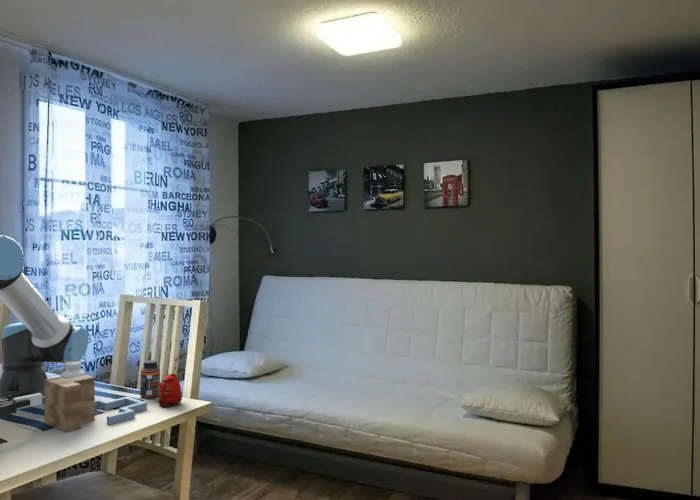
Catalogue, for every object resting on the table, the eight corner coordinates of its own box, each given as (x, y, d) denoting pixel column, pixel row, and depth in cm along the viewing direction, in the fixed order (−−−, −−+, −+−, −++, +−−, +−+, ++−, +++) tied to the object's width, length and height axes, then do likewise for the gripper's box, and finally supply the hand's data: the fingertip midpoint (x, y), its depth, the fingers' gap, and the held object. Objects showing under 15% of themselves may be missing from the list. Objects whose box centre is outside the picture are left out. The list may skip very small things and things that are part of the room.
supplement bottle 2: (153, 399, 180) (153, 363, 179) (136, 398, 181) (136, 362, 180) (163, 394, 185) (163, 359, 185) (146, 393, 187) (146, 358, 186)
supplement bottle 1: (88, 404, 173) (88, 362, 173) (65, 409, 169) (65, 366, 168) (79, 400, 178) (79, 359, 178) (57, 404, 173) (57, 362, 173)
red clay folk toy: (155, 402, 177) (156, 354, 176) (178, 399, 180) (179, 352, 180) (160, 409, 170) (160, 359, 170) (184, 406, 174) (184, 357, 173)
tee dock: (76, 411, 167) (76, 404, 167) (120, 400, 178) (120, 394, 178) (109, 424, 156) (109, 417, 156) (154, 411, 167) (154, 405, 167)
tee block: (44, 422, 157) (44, 379, 156) (80, 413, 165) (79, 372, 164) (66, 432, 150) (65, 387, 149) (102, 422, 158) (102, 379, 157)
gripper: (-76, 430, 135) (29, 407, 154) (-55, 443, 127) (52, 417, 146) (-76, 399, 135) (29, 380, 154) (-55, 409, 127) (52, 388, 146)
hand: (40, 398), depth 150 cm, fingers closed
